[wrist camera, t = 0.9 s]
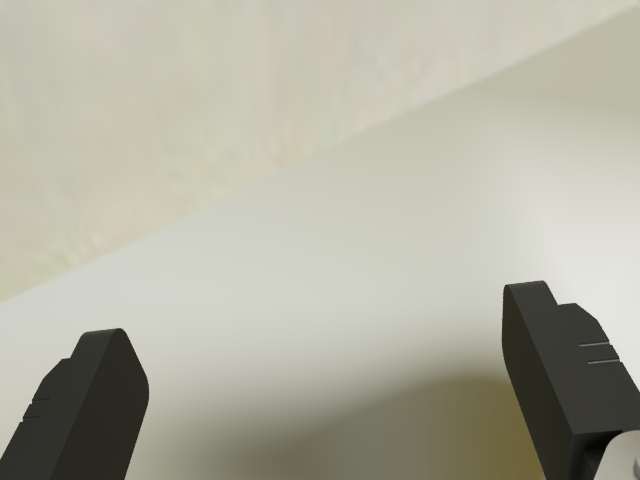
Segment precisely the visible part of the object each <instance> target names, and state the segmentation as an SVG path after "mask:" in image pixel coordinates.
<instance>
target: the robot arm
mask: <svg viewBox="0 0 640 480" xmlns="http://www.w3.org/2000/svg"><path fill="white" fill-rule="evenodd" d="M502 349H503V356H504V361H505V365H506V368H507V371H508V374H509V377H510V379H511V383H512V385H513V388H514V391H515V394H516V396H517V399H518V402H519V405H520V407H521V410H522V413H523V416H524V419H525V422H526V424H527V427H528V430H529V432H530V435H531V438H532V441H533V444H534V447H535V449H536V452H537V455H538V458H539V460H540V463H541V466H542V469H543V472H544V475H545V477H546V480H640V392H639V390H638V389H637V387H636V385H635V384H634V382H633V380H632V378H631V376H630V375H629V373H628V372H627V370H626V368H625V366H624V365H623V363H622V362H620V360H619V356H618V355H617V353H616V351H615V349H614V348H613V346H612V345H610V343H609V339H608V337H607V336H606V334H605V332H604V331H603V329H602V327H601V326H600V324H599V322H598V321H597V319H595V318H594V317H593V316H592V315H590V314H589V313H588V312H586V311H585V310H584V309H583V308H581V307H580V306H579V305H577V304H576V303H572V304H562V305H557V302H556V300H555V299H554V297H553V295H552V293H551V291H550V289H549V287H548V285H547V284H546V282H544V281H534V282H525V283H517V284H508V285H505V287H504V292H503V319H502ZM148 400H149V385H148V380H147V377H146V374H145V372H144V370H143V368H142V366H141V364H140V361H139V359H138V357H137V355H136V353H135V351H134V349H133V346H132V344H131V342H130V340H129V338H128V336H127V334H126V332H125V331H124V330H123V329H121V328H117V329H108V330H100V331H91V332H86V333H84V334H83V335H82V336H81V337H80V339H79V342H78V343H77V345H76V347H75V349H74V351H73V353H72V355H71V357H70V358H68V359H62V360H61V361H60V362H59V363H58V364H57V365H56V366H55V367H54V368H53V369H52V370H51V371H50V372H49V373H48V374H47V375H46V376H45V377H44V378H43V380H42V382H41V384H40V386H39V387H38V390H37V391H36V393H35V395H34V397H33V399H32V404H30V405H29V406H28V408H27V410H26V412H25V414H24V416H23V422H20V423H19V425H18V427H17V429H16V431H15V433H14V435H13V437H12V439H11V440H10V443H9V444H8V446H7V448H6V450H5V452H4V454H3V456H2V458H1V460H0V480H124V479H125V476H126V472H127V469H128V466H129V463H130V460H131V457H132V453H133V450H134V447H135V444H136V440H137V438H138V434H139V431H140V428H141V425H142V422H143V418H144V415H145V412H146V409H147V405H148Z"/></svg>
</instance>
